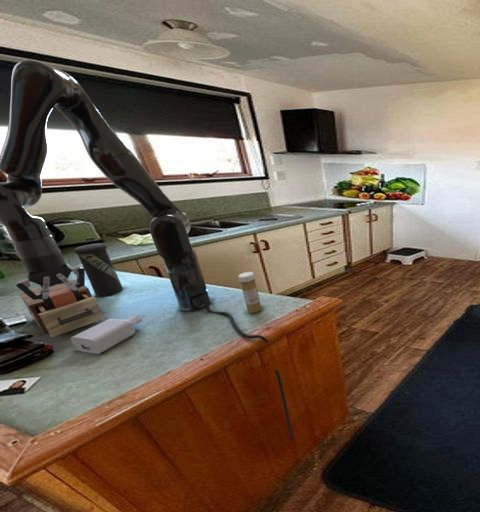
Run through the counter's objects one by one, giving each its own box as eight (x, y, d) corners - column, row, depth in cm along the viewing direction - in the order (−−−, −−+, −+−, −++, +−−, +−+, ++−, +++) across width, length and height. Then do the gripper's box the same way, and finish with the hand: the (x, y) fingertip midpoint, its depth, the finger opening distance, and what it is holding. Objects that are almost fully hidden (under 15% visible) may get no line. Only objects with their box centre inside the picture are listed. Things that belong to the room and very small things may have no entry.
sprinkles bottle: (262, 305, 95) (254, 270, 90) (261, 312, 91) (253, 275, 86) (247, 308, 93) (239, 272, 89) (246, 314, 89) (237, 277, 85)
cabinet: (100, 313, 94) (88, 288, 91) (44, 333, 84) (28, 305, 80) (86, 302, 102) (75, 279, 98) (33, 319, 92) (19, 293, 88)
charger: (156, 323, 87) (101, 354, 73) (134, 320, 89) (76, 350, 75) (151, 310, 85) (93, 340, 71) (128, 307, 87) (69, 336, 73)
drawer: (109, 322, 87) (99, 300, 84) (55, 342, 77) (42, 319, 75) (91, 307, 96) (81, 287, 93) (41, 324, 87) (29, 302, 84)
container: (105, 297, 105) (84, 249, 98) (88, 296, 107) (66, 248, 100) (129, 287, 113) (111, 242, 106) (112, 286, 115) (93, 241, 108)
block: (78, 303, 85) (72, 291, 83) (57, 310, 81) (50, 297, 80) (74, 300, 87) (68, 287, 86) (53, 306, 84) (46, 293, 82)
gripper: (1, 263, 71) (32, 319, 77) (78, 247, 82) (100, 297, 88) (-3, 258, 75) (27, 312, 80) (71, 244, 86) (93, 292, 92)
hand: (65, 304), depth 84 cm, fingers closed on block, 4 cm apart
